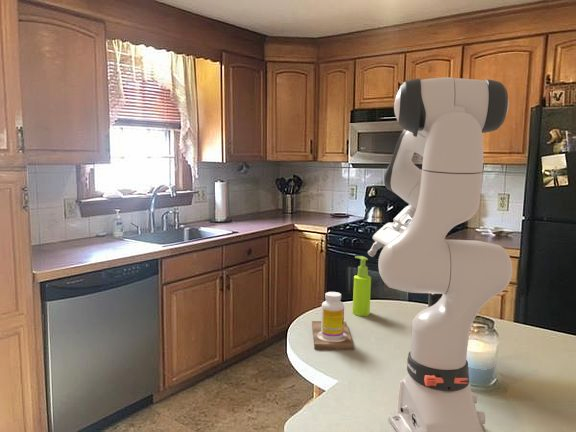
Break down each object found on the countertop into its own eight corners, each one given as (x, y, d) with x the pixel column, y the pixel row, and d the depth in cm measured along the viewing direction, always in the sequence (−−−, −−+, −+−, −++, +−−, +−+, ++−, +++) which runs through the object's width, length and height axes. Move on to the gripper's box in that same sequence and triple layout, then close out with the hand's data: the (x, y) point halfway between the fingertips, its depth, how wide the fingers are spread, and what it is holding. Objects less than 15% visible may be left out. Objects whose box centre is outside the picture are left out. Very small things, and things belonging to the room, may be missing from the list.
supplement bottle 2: (432, 313, 164) (434, 280, 162) (451, 317, 160) (453, 284, 158) (424, 318, 159) (426, 284, 157) (443, 323, 155) (446, 288, 153)
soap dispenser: (361, 308, 168) (364, 254, 165) (372, 314, 162) (375, 258, 159) (347, 310, 165) (349, 255, 163) (358, 317, 159) (360, 259, 156)
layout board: (353, 349, 133) (353, 328, 132) (314, 349, 133) (315, 327, 132) (345, 326, 151) (346, 306, 150) (311, 325, 151) (312, 306, 150)
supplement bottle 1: (345, 339, 136) (347, 297, 134) (323, 340, 135) (324, 297, 133) (340, 331, 142) (341, 290, 141) (319, 332, 141) (319, 291, 140)
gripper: (388, 213, 147) (357, 244, 147) (415, 223, 127) (380, 258, 127) (400, 227, 149) (370, 257, 148) (430, 239, 129) (395, 274, 128)
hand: (374, 258), depth 137 cm, fingers open, 8 cm apart
